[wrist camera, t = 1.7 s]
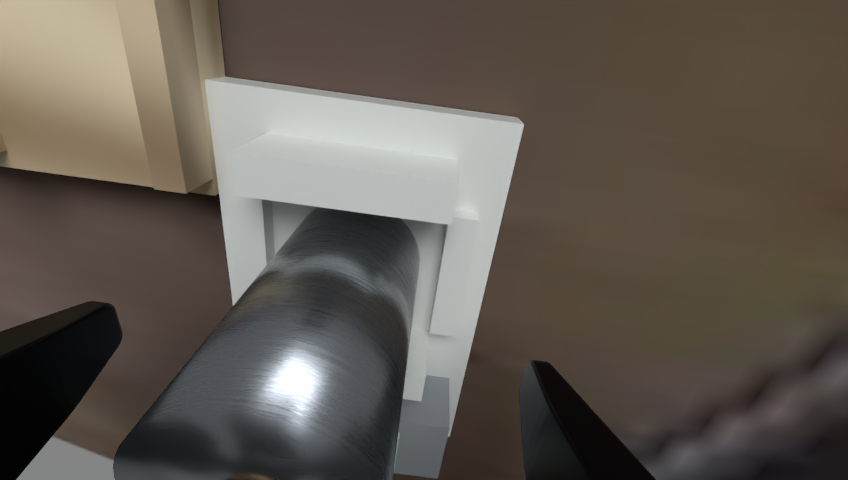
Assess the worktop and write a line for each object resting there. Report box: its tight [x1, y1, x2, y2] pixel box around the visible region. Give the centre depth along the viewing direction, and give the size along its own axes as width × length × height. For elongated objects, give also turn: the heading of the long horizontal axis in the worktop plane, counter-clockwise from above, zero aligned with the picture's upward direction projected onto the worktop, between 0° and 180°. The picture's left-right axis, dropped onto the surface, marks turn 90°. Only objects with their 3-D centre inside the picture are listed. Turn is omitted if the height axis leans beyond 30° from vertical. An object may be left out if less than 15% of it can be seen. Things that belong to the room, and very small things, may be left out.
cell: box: [113, 207, 420, 480], centre depth 8 cm, size 4×4×8 cm
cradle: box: [205, 77, 524, 479], centre depth 12 cm, size 12×8×3 cm, turn 173°
